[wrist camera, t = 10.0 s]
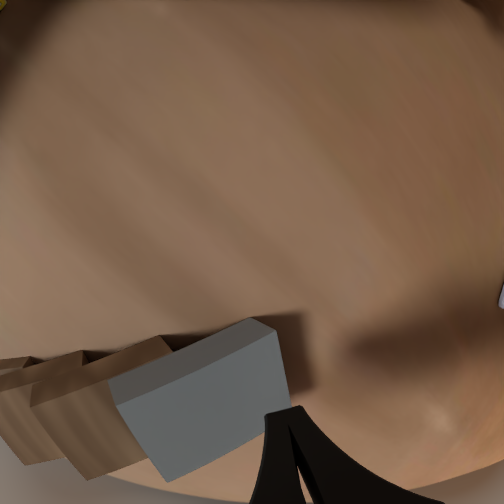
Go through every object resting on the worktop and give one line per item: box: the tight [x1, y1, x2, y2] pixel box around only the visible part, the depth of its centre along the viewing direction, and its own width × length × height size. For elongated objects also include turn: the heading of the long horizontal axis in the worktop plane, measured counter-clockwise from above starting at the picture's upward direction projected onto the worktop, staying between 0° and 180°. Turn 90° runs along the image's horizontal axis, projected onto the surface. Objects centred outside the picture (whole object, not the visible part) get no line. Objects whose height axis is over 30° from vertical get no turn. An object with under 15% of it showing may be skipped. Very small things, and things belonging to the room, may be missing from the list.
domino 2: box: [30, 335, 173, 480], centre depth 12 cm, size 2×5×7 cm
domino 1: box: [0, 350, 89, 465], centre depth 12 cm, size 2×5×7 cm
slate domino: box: [107, 317, 292, 483], centre depth 12 cm, size 2×5×7 cm
